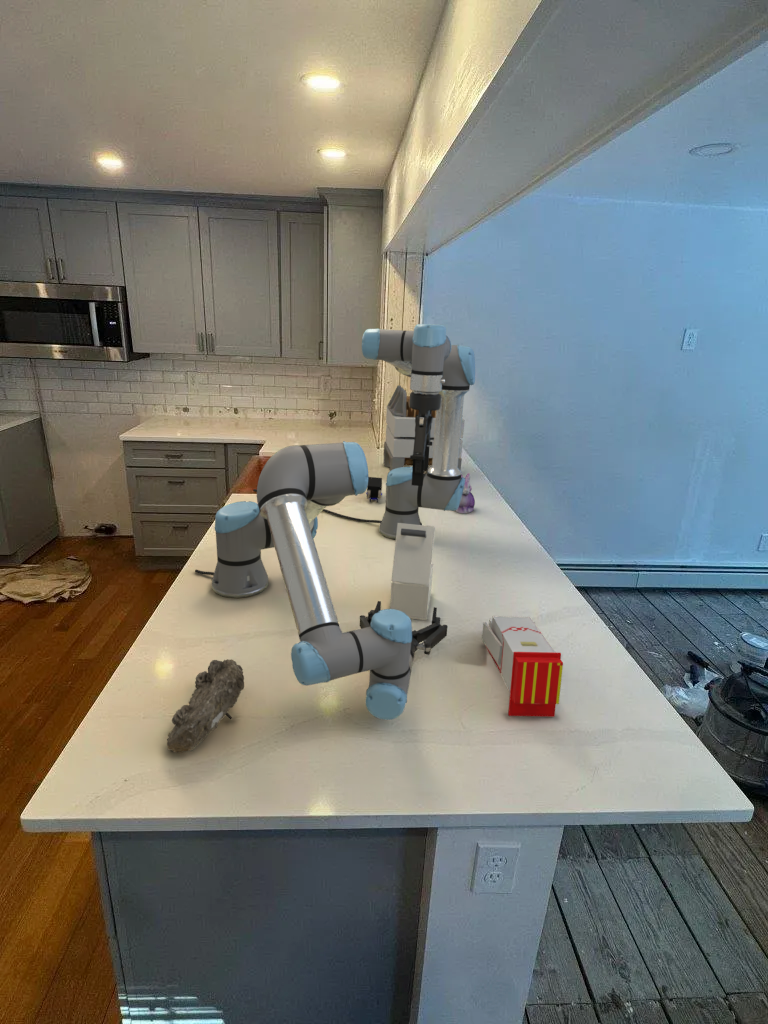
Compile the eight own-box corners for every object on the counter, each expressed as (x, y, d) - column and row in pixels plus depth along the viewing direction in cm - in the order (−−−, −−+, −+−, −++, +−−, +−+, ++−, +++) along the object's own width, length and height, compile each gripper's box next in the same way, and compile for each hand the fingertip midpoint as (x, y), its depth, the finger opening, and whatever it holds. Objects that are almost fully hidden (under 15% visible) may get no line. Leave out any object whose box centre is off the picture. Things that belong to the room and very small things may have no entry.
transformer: (382, 463, 289) (386, 382, 275) (445, 464, 293) (451, 384, 279) (390, 482, 257) (394, 392, 243) (460, 483, 261) (468, 394, 247)
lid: (397, 523, 145) (394, 519, 137) (435, 526, 144) (433, 523, 136) (391, 581, 143) (388, 580, 136) (429, 585, 142) (427, 585, 134)
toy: (528, 601, 136) (572, 659, 107) (523, 653, 139) (565, 722, 110) (478, 600, 136) (508, 657, 107) (474, 652, 139) (503, 722, 109)
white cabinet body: (397, 591, 159) (398, 560, 156) (430, 595, 158) (433, 564, 155) (389, 616, 146) (391, 582, 143) (426, 620, 145) (429, 587, 142)
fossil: (192, 660, 117) (244, 628, 112) (224, 691, 120) (276, 661, 115) (142, 746, 98) (202, 712, 93) (182, 779, 101) (242, 748, 96)
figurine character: (382, 507, 229) (381, 492, 243) (383, 490, 226) (382, 475, 239) (365, 506, 229) (366, 491, 242) (366, 489, 226) (366, 475, 239)
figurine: (461, 515, 220) (465, 478, 215) (447, 507, 229) (450, 471, 224) (481, 512, 224) (485, 476, 219) (466, 504, 233) (469, 469, 228)
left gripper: (336, 666, 120) (356, 616, 140) (454, 682, 117) (457, 628, 137) (336, 636, 118) (356, 589, 138) (457, 650, 115) (459, 601, 134)
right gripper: (437, 400, 123) (430, 493, 130) (444, 386, 146) (438, 466, 154) (403, 398, 124) (398, 490, 131) (415, 384, 147) (410, 463, 155)
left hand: (406, 609), depth 137 cm, fingers open, 13 cm apart
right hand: (420, 477), depth 142 cm, fingers open, 13 cm apart
